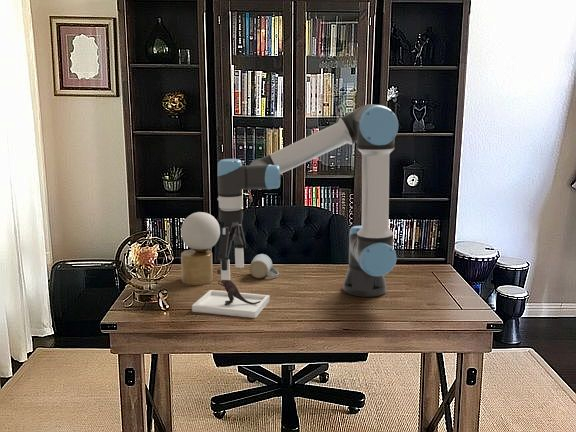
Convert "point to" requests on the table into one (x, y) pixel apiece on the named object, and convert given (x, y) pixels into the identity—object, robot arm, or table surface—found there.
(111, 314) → the table surface
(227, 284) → the dinosaur model
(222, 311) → the tray
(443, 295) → the table surface
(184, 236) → the lamp
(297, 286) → the table surface
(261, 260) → the ceramic mug
